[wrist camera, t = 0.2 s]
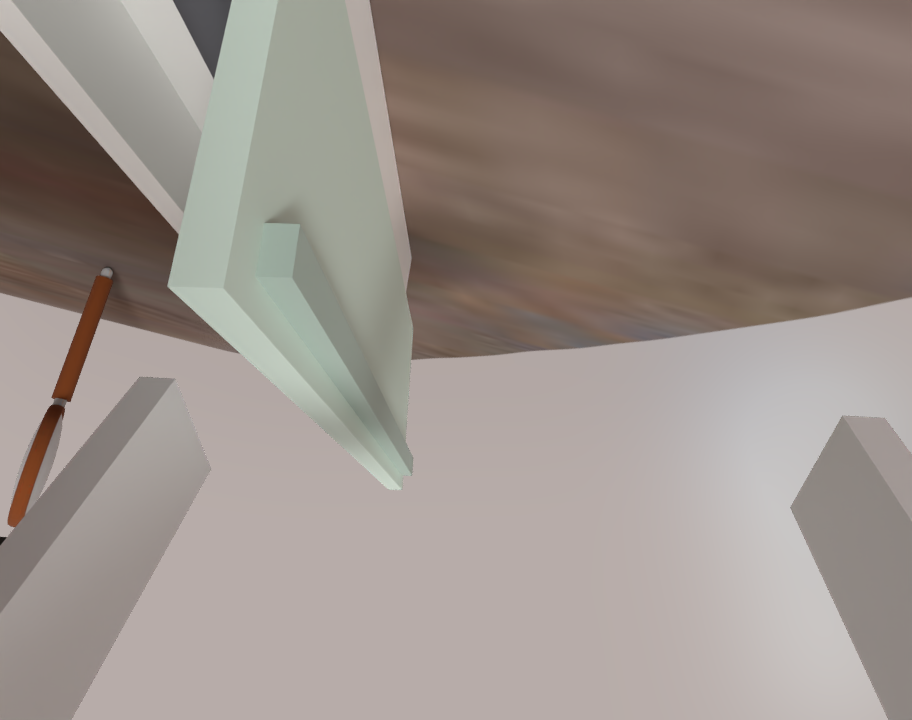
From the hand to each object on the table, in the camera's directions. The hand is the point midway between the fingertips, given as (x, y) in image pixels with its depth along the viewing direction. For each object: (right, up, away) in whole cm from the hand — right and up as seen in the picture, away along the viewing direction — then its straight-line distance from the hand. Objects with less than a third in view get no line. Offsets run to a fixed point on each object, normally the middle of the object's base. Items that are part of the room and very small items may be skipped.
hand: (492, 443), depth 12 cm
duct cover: (-5, +3, +10) cm, 12 cm away
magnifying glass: (-28, +9, +34) cm, 45 cm away
